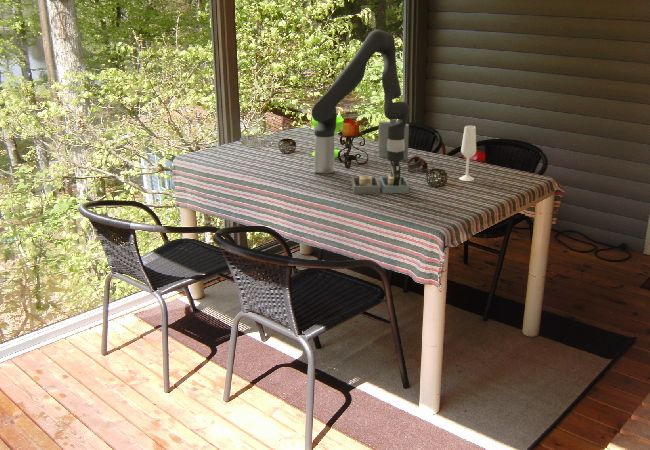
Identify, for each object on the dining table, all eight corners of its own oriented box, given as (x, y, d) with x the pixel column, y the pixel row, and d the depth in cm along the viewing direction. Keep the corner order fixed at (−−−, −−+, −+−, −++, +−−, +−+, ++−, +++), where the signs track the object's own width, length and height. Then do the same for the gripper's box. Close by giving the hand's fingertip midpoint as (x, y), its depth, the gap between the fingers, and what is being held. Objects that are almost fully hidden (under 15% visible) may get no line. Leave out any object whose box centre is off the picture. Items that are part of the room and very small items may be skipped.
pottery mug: (431, 174, 341) (423, 161, 337) (412, 182, 344) (405, 168, 340) (428, 161, 351) (422, 148, 347) (410, 169, 353) (403, 156, 349)
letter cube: (389, 189, 315) (389, 178, 314) (387, 186, 320) (388, 174, 318) (400, 189, 316) (401, 178, 314) (399, 186, 320) (399, 174, 318)
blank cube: (360, 190, 315) (360, 179, 313) (359, 186, 320) (359, 175, 318) (371, 190, 315) (372, 178, 313) (370, 186, 320) (370, 175, 318)
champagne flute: (464, 175, 337) (468, 124, 329) (477, 178, 333) (480, 126, 324) (456, 178, 333) (459, 126, 324) (468, 181, 328) (472, 129, 320)
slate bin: (383, 194, 311) (383, 186, 310) (379, 184, 324) (379, 176, 323) (409, 194, 312) (409, 186, 310) (404, 184, 325) (404, 176, 324)
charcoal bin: (354, 194, 311) (354, 186, 310) (351, 185, 324) (351, 177, 323) (379, 194, 311) (380, 186, 310) (376, 184, 324) (376, 176, 323)
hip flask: (408, 158, 365) (410, 119, 358) (405, 160, 362) (406, 120, 355) (379, 154, 372) (380, 116, 365) (376, 156, 369) (377, 117, 362)
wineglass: (343, 158, 366) (344, 123, 359) (311, 158, 366) (311, 123, 360) (343, 150, 381) (343, 116, 374) (312, 150, 381) (312, 116, 375)
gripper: (384, 144, 318) (384, 180, 324) (389, 153, 305) (388, 190, 311) (402, 144, 319) (401, 180, 324) (407, 152, 305) (405, 190, 311)
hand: (394, 185), depth 317 cm, fingers open, 8 cm apart
